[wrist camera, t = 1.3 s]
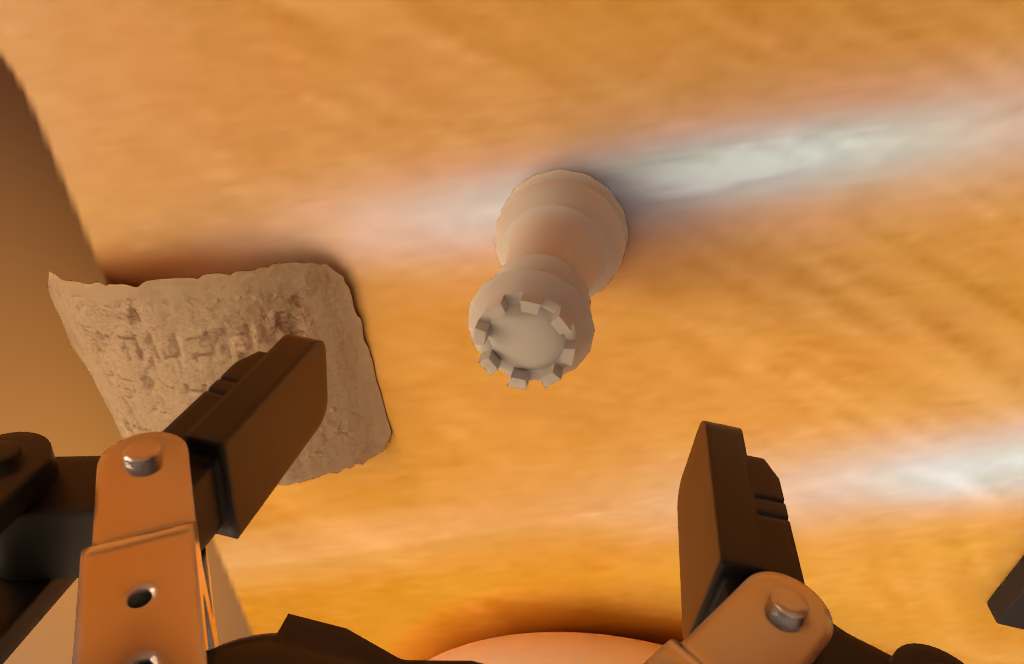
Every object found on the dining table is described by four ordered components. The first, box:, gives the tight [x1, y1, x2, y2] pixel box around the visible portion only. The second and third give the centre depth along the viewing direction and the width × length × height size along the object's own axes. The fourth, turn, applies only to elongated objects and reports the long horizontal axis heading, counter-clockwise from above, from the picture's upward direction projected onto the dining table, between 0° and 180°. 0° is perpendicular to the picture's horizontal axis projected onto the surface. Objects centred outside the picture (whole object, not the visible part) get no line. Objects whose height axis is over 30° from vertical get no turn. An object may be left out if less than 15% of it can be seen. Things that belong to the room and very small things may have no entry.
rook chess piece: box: [468, 169, 629, 390], centre depth 19 cm, size 4×4×8 cm
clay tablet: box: [48, 262, 391, 485], centre depth 27 cm, size 14×10×3 cm
